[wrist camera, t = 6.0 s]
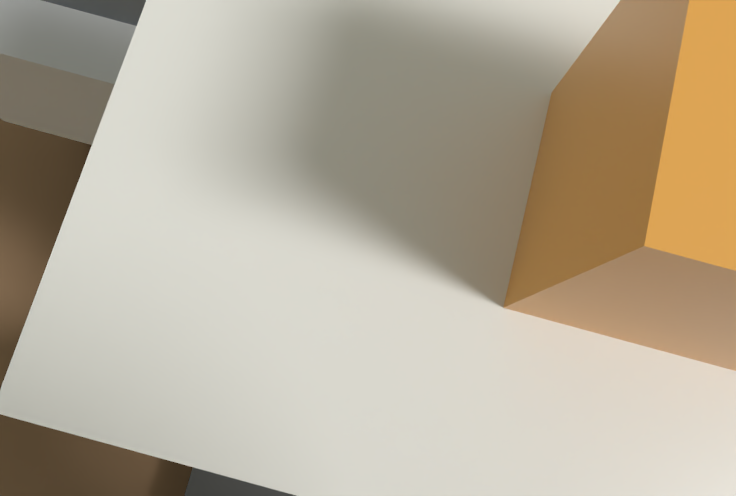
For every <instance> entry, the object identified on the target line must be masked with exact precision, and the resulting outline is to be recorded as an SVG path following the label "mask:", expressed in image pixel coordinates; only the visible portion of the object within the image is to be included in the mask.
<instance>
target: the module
mask: <svg viewBox="0 0 736 496" xmlns="http://www.w3.org/2000/svg"><path fill="white" fill-rule="evenodd" d="M0 414H1V415H4V416H8V417H12V418H15V419H19V420H23V421H26V422H30V423H34V424H37V425H41V426H44V427H48V428H52V429H55V430H59V431H63V432H66V433H70V434H74V435H77V436H81V437H85V438H88V439H92V440H96V441H99V442H103V443H106V444H110V445H114V446H117V447H121V448H125V449H128V450H132V451H136V452H139V453H143V454H147V455H150V456H154V457H157V458H161V459H165V460H168V461H172V462H176V463H179V464H183V465H187V466H190V467H194V468H198V469H201V470H205V471H209V472H212V473H216V474H219V475H223V476H227V477H230V478H234V479H238V480H241V481H245V482H249V483H252V484H256V485H260V486H263V487H267V488H270V489H274V490H278V491H281V492H285V493H289V494H292V495H296V496H736V0H146V2H145V5H144V8H143V10H142V13H141V16H140V18H139V21H138V24H137V26H136V29H135V32H134V34H133V37H132V40H131V42H130V45H129V48H128V50H127V53H126V56H125V58H124V61H123V64H122V66H121V69H120V72H119V74H118V77H117V80H116V82H115V85H114V88H113V90H112V93H111V96H110V98H109V101H108V104H107V106H106V109H105V112H104V114H103V117H102V120H101V122H100V125H99V128H98V130H97V133H96V136H95V138H94V141H93V144H92V146H91V149H90V151H89V154H88V157H87V159H86V162H85V165H84V167H83V170H82V173H81V175H80V178H79V181H78V183H77V186H76V189H75V191H74V194H73V197H72V199H71V202H70V205H69V207H68V210H67V213H66V215H65V218H64V221H63V223H62V226H61V229H60V231H59V234H58V237H57V239H56V242H55V245H54V247H53V250H52V253H51V255H50V258H49V261H48V263H47V266H46V269H45V271H44V274H43V277H42V279H41V282H40V285H39V287H38V290H37V293H36V295H35V298H34V301H33V303H32V306H31V309H30V311H29V314H28V317H27V319H26V322H25V325H24V327H23V330H22V333H21V335H20V338H19V341H18V343H17V346H16V349H15V351H14V354H13V357H12V359H11V362H10V365H9V367H8V370H7V373H6V375H5V378H4V381H3V383H2V386H1V389H0Z"/></svg>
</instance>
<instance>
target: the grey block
mask: <svg viewBox="0 0 736 496" xmlns="http://www.w3.org/2000/svg"><path fill="white" fill-rule="evenodd" d="M145 2H146V0H0V119H2V120H3V121H5V122H9V123H12V124H16V125H20V126H23V127H27V128H31V129H35V130H38V131H42V132H46V133H49V134H53V135H57V136H60V137H64V138H68V139H71V140H75V141H79V142H82V143H86V144H90V145H92V144H93V141H94V138H95V136H96V133H97V130H98V128H99V125H100V122H101V120H102V117H103V114H104V112H105V109H106V106H107V104H108V101H109V98H110V96H111V93H112V90H113V88H114V85H115V82H116V80H117V77H118V74H119V72H120V69H121V66H122V64H123V61H124V58H125V56H126V53H127V50H128V48H129V45H130V42H131V40H132V37H133V34H134V32H135V29H136V26H137V24H138V21H139V18H140V16H141V13H142V10H143V8H144V5H145ZM184 496H296V495H292V494H289V493H285V492H281V491H278V490H274V489H270V488H267V487H263V486H260V485H256V484H252V483H249V482H245V481H241V480H238V479H234V478H230V477H227V476H223V475H219V474H216V473H212V472H209V471H205V470H201V469H198V468H194V467H193V469H192V472H191V475H190V478H189V482H188V485H187V488H186V491H185V495H184Z"/></svg>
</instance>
